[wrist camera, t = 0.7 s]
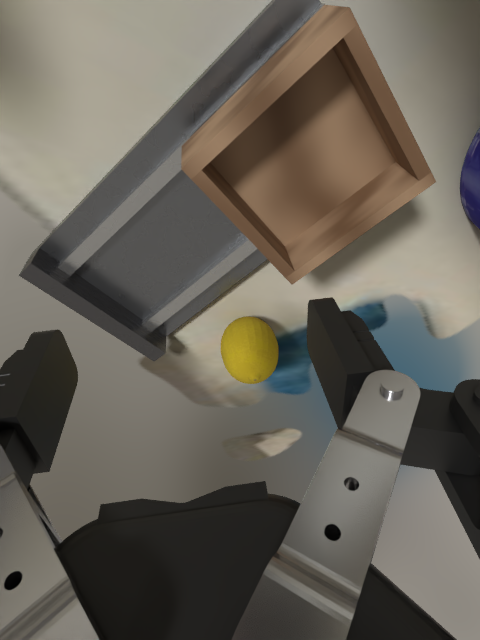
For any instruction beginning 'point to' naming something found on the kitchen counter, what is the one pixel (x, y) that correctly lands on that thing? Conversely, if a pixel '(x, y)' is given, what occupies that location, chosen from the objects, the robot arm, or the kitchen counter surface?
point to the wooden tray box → (309, 148)
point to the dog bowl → (471, 181)
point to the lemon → (249, 350)
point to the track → (161, 213)
